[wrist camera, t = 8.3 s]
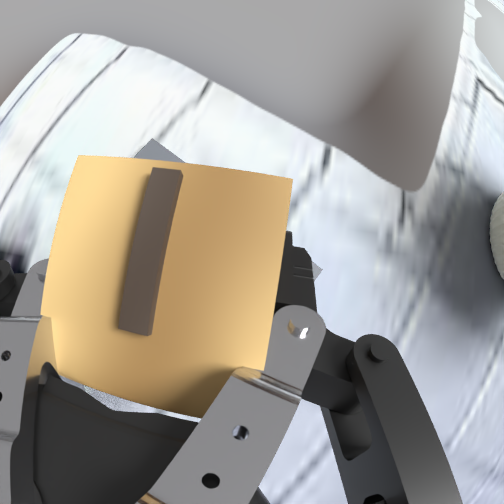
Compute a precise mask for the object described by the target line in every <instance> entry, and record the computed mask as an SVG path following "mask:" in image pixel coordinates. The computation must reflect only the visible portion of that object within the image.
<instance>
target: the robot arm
mask: <svg viewBox="0 0 504 504" xmlns="http://www.w3.org/2000/svg"><path fill="white" fill-rule="evenodd" d="M48 261H49V259H44V260H42V261H39V262H38V263H36V264H35V265H33V266H32V267H31V268H30V270H29V271H28V273H20V274H13V271H12V269H11V266H10V264H9V262H7V261H5V260H0V504H270V503H269V501H268V500H267V498H266V497H265V496H264V494H263V493H262V492H261V490H260V489H259V487H258V486H259V484H260V482H261V481H262V479H263V477H264V475H265V473H266V471H267V469H268V467H269V466H270V464H271V462H272V460H273V458H274V456H275V454H276V452H277V450H278V448H279V446H280V444H281V442H282V440H283V438H284V436H285V433H286V431H287V429H288V427H289V425H290V423H291V421H292V419H293V416H294V414H295V412H296V410H297V407H298V405H299V403H300V400H301V399H304V400H306V401H309V402H312V403H314V404H317V405H319V406H320V407H321V411H322V414H323V417H324V421H325V424H326V428H327V431H328V434H329V438H330V441H331V445H332V448H333V452H334V455H335V458H336V462H337V465H338V469H339V473H340V476H341V480H342V483H343V487H344V490H345V494H346V498H347V501H348V504H463V503H462V500H461V497H460V494H459V491H458V488H457V485H456V482H455V479H454V476H453V474H452V471H451V468H450V465H449V463H448V460H447V458H446V455H445V452H444V450H443V447H442V445H441V442H440V440H439V438H438V435H437V433H436V430H435V428H434V426H433V423H432V421H431V419H430V416H429V414H428V412H427V410H426V407H425V405H424V403H423V401H422V399H421V396H420V394H419V392H418V390H417V388H416V386H415V384H414V382H413V380H412V377H411V375H410V373H409V371H408V369H407V367H406V365H405V363H404V361H403V359H402V357H401V355H400V353H399V351H398V350H397V348H396V347H395V345H394V344H393V343H392V342H391V341H389V340H388V339H386V338H384V337H382V336H379V335H375V334H368V335H364V336H362V337H360V338H359V339H358V340H357V341H356V342H353V341H350V340H348V339H345V338H343V337H340V336H338V335H336V334H334V333H332V332H330V331H329V330H328V329H327V328H326V326H325V323H324V321H323V319H322V318H321V316H320V315H319V314H318V313H317V307H316V297H315V287H314V279H313V271H312V269H313V268H312V260H311V257H310V256H309V254H308V253H307V251H306V250H305V248H300V247H294V246H293V245H292V232H291V231H286V234H285V241H284V248H283V255H282V262H281V269H280V275H279V282H278V288H277V295H276V301H275V307H274V314H273V320H272V326H271V332H270V338H269V344H268V350H267V356H266V361H265V367H264V371H263V370H257V369H252V368H248V367H244V366H243V367H242V368H241V369H240V368H237V369H236V370H235V371H234V372H233V373H232V375H231V376H230V378H229V379H228V381H227V382H226V384H225V385H224V387H223V388H222V390H221V391H220V393H219V394H218V396H217V397H216V399H215V400H214V402H213V403H212V405H211V406H210V407H209V409H208V410H207V412H206V413H205V415H204V416H203V418H202V419H201V421H200V422H199V423H198V422H193V421H188V420H184V419H179V418H175V417H171V416H166V415H162V414H159V413H139V412H123V411H114V410H111V409H110V408H108V407H106V406H105V405H103V404H102V403H100V402H99V401H98V400H96V399H95V398H93V397H92V396H90V395H89V394H88V393H86V392H85V389H84V385H83V384H80V383H78V382H75V381H73V380H70V379H68V378H66V377H63V376H61V375H59V374H58V370H57V364H56V357H55V350H54V342H53V332H52V321H51V317H46V316H43V315H40V314H41V305H42V297H43V290H44V284H45V278H46V272H47V266H48Z"/></svg>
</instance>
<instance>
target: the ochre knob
mask: <svg viewBox="0 0 504 504" xmlns="http://www.w3.org/2000/svg"><path fill="white" fill-rule="evenodd" d="M292 182H293V179H290V178H285V177H279V176H273V175H267V174H261V173H255V172H249V171H242V170H236V169H229V168H221V167H214V166H206V165H198V164H189V163H180V162H171V161H161V160H150V159H137V158H123V157H107V156H85V155H78V158H77V161H76V163H75V166H74V169H73V172H72V175H71V178H70V181H69V184H68V187H67V190H66V193H65V197H64V200H63V203H62V207H61V210H60V214H59V218H58V221H57V225H56V229H55V233H54V238H53V242H52V247H51V251H50V256H49V261H48V266H47V272H46V278H45V284H44V290H43V297H42V305H41V314H40V315H43V316H46V317H51V321H52V332H53V342H54V350H55V357H56V364H57V370H58V374H59V375H61V376H63V377H66V378H68V379H70V380H73V381H75V382H78V383H80V384H83V385H86V386H88V387H91V388H94V389H96V390H99V391H102V392H105V393H108V394H111V395H114V396H117V397H120V398H123V399H126V400H130V401H133V402H136V403H140V404H143V405H147V406H150V407H154V408H158V409H162V410H166V411H170V412H174V413H178V414H183V415H187V416H192V417H197V418H203V416H204V415H205V413H206V412H207V410H208V409H209V407H210V406H211V405H212V403H213V402H214V400H215V399H216V397H217V396H218V394H219V393H220V391H221V390H222V388H223V387H224V385H225V384H226V382H227V381H228V379H229V378H230V376H231V375H232V373H233V372H234V371H235V370H236V369H237V368H240V369H241V368H242V367H243V366H244V367H248V368H252V369H257V370H263V371H264V367H265V361H266V356H267V350H268V344H269V338H270V332H271V326H272V320H273V314H274V307H275V301H276V295H277V288H278V282H279V275H280V269H281V262H282V255H283V248H284V241H285V234H286V227H287V220H288V212H289V205H290V197H291V190H292Z"/></svg>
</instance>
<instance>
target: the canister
mask: <svg viewBox="0 0 504 504" xmlns="http://www.w3.org/2000/svg"><path fill="white" fill-rule="evenodd" d="M490 221H491V222H490V242H491V249H492V252H493V257H494V260H495V264H496V266H497V269H498V271H499V272H500V275H501V277H502V278H503V279H504V192H503V193H502V194H501V195H500V196H499V197H498V199H497V201H496V202H495V204H494V208H493V210H492V215H491V218H490Z"/></svg>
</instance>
